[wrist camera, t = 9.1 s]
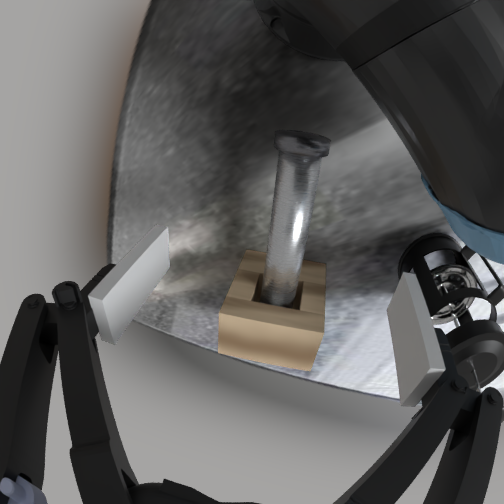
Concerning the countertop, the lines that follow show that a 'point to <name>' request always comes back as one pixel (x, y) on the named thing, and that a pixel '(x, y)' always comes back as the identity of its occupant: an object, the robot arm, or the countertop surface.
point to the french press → (459, 307)
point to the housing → (273, 317)
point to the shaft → (291, 212)
